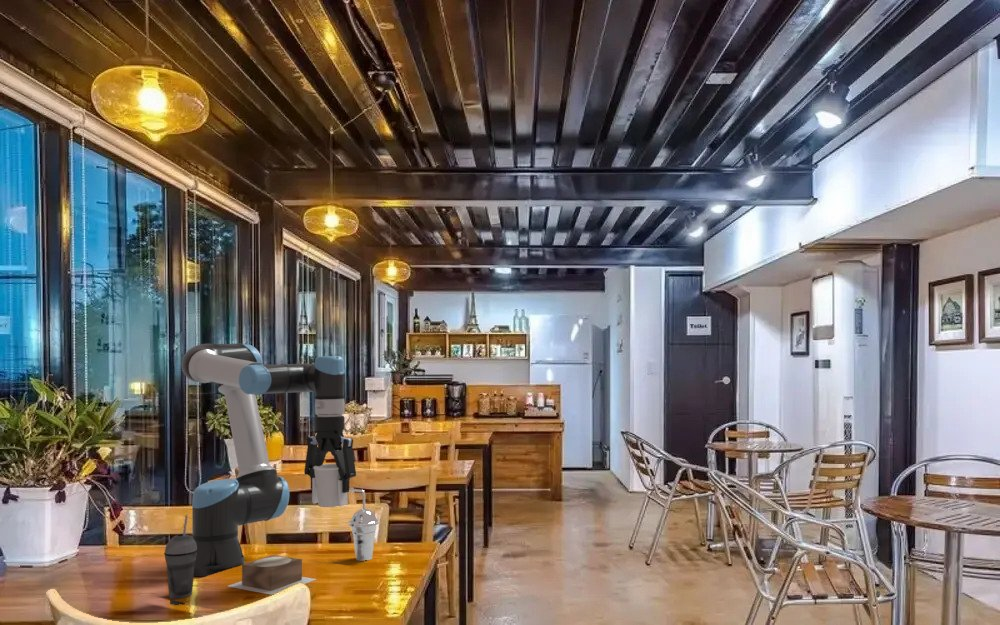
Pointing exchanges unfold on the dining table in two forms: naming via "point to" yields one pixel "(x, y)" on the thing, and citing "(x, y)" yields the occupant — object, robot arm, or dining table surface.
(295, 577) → the brown block
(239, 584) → the board
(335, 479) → the dixie cup
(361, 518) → the cup with straw
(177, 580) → the beverage cup
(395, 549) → the dining table surface
